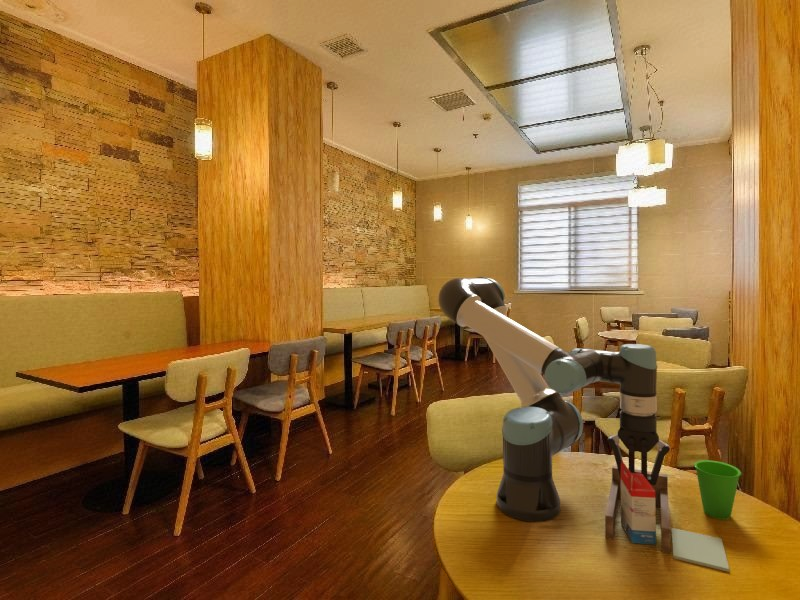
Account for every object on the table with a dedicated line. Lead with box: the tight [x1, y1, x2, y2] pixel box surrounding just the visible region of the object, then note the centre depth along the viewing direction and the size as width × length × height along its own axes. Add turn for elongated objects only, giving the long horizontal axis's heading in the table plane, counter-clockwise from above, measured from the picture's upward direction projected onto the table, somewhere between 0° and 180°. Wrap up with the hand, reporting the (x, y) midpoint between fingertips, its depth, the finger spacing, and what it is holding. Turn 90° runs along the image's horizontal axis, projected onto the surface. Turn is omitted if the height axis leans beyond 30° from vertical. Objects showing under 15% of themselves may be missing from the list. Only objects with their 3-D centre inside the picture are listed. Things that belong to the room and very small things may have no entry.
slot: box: [604, 465, 671, 554], centre depth 101 cm, size 12×20×8 cm, turn 150°
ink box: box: [620, 460, 657, 545], centre depth 97 cm, size 8×5×15 cm, turn 168°
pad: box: [670, 527, 730, 573], centre depth 91 cm, size 9×11×1 cm
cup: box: [693, 459, 742, 520], centre depth 104 cm, size 9×9×11 cm
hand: (637, 510), depth 104 cm, fingers closed
